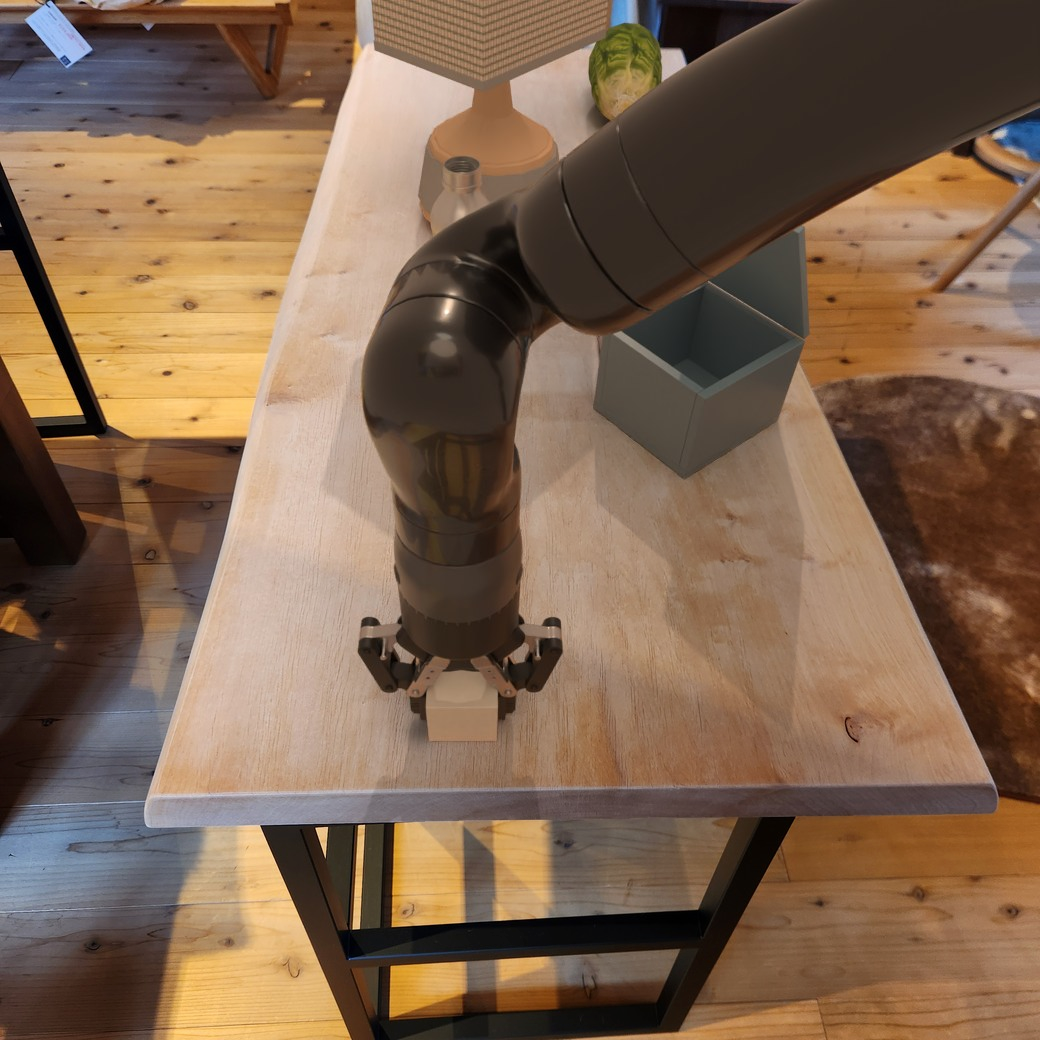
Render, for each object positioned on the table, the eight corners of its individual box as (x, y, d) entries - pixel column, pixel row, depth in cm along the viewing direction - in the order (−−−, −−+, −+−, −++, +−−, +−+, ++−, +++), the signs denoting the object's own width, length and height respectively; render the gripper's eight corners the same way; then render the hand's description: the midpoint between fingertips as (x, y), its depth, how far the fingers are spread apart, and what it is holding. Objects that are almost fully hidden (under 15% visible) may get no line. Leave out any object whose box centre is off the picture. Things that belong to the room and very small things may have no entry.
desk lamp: (490, 166, 122) (493, -154, 95) (597, 212, 115) (633, -122, 87) (381, 222, 111) (349, -123, 83) (491, 277, 103) (496, -84, 76)
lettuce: (583, 143, 128) (591, 64, 120) (585, 88, 142) (592, 13, 133) (659, 148, 128) (672, 69, 119) (654, 92, 142) (665, 17, 133)
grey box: (684, 479, 81) (705, 399, 74) (592, 407, 88) (603, 327, 80) (778, 420, 87) (805, 340, 80) (685, 357, 94) (703, 278, 86)
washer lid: (798, 233, 67) (841, 189, 67) (678, 169, 73) (718, 129, 74) (804, 339, 80) (840, 303, 80) (701, 277, 86) (735, 243, 86)
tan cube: (496, 682, 66) (497, 646, 62) (496, 741, 63) (497, 707, 59) (432, 682, 66) (429, 646, 62) (428, 741, 62) (425, 707, 59)
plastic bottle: (505, 334, 96) (510, 160, 81) (471, 365, 92) (469, 188, 77) (459, 314, 98) (455, 142, 83) (423, 344, 94) (412, 168, 79)
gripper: (573, 522, 54) (555, 666, 67) (346, 521, 53) (372, 666, 66) (582, 620, 49) (560, 755, 62) (331, 619, 48) (362, 755, 61)
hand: (463, 708), depth 64 cm, fingers closed on tan cube, 5 cm apart
